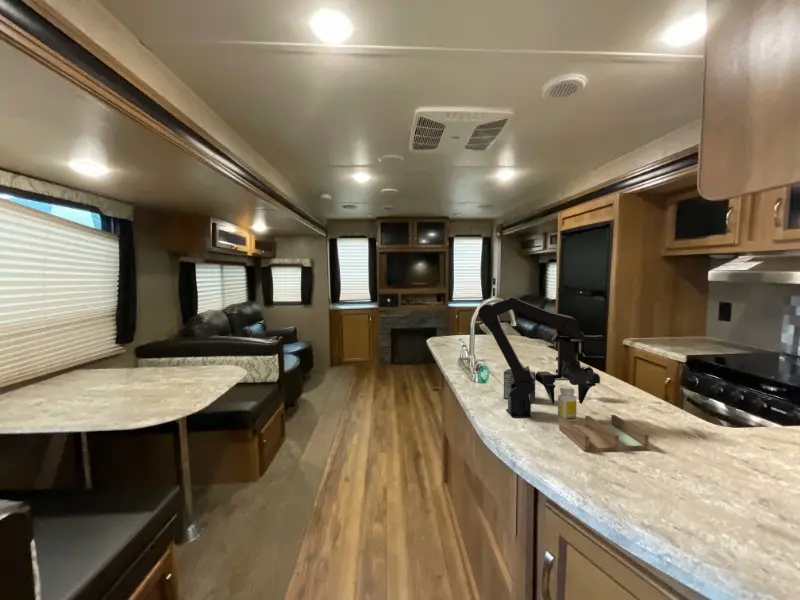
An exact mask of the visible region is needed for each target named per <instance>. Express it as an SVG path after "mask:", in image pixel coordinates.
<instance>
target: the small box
mask: <svg viewBox="0 0 800 600" xmlns="http://www.w3.org/2000/svg"><path fill="white" fill-rule="evenodd" d="M530 372H531V373H532V374H533V375H534V378H535V375H536V371H530ZM512 383H514V379H513V375H512V371H511V369H510V368H507V369H506V370H504V371H503V398H502V399H503V400H507V401H508V394H509V392H510V385H511V384H512ZM534 385H535V386H536V381H535V382H534ZM528 396H529V397H530V399H529V400H530V401H531V404H533V402H534V401H535V400H536V387H535V388H534V391H533V392H532V393H530V394H529V395H528Z"/></svg>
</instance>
